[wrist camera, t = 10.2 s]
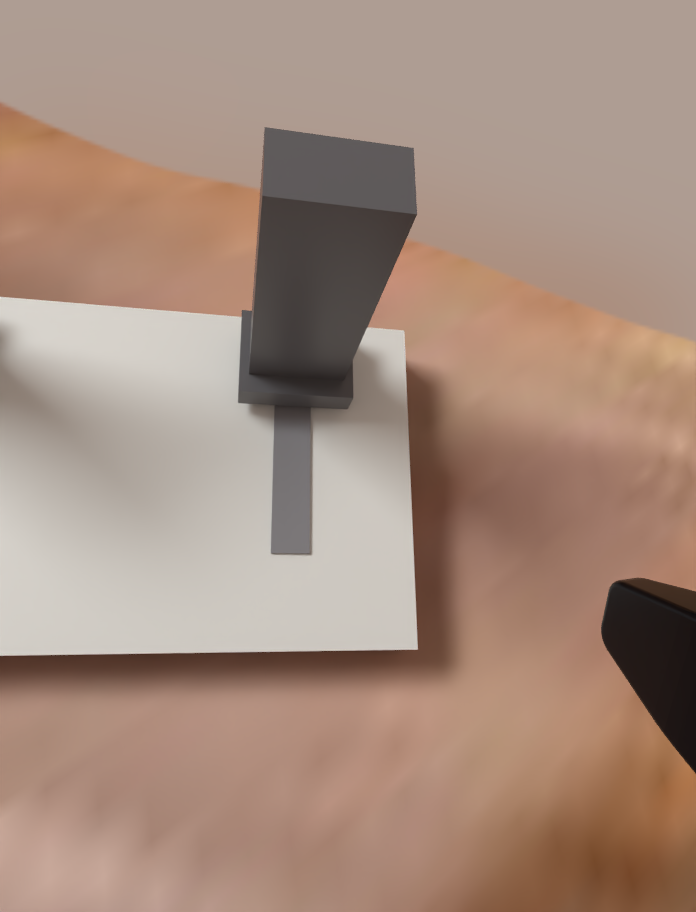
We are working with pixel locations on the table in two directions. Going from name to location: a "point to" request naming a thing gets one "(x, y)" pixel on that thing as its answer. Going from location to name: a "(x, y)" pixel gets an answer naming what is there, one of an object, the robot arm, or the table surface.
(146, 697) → the table surface
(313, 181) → the lever
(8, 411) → the breaker panel
